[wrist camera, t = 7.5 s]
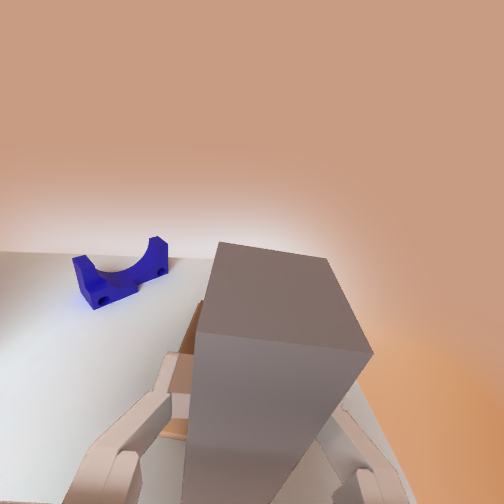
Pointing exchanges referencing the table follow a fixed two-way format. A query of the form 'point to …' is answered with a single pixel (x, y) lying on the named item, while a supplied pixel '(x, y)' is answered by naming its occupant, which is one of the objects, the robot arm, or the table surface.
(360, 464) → the robot arm
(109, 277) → the blue cradle bracket
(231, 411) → the peg
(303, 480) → the table surface
